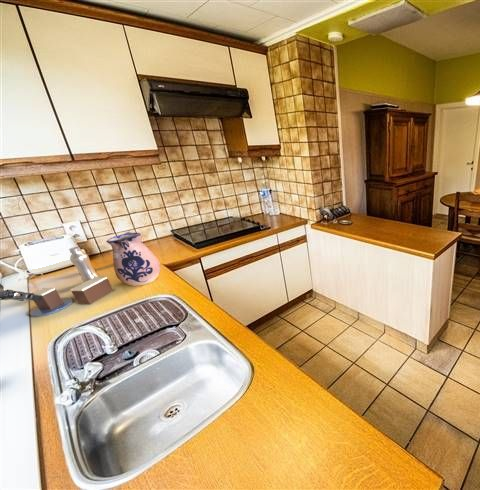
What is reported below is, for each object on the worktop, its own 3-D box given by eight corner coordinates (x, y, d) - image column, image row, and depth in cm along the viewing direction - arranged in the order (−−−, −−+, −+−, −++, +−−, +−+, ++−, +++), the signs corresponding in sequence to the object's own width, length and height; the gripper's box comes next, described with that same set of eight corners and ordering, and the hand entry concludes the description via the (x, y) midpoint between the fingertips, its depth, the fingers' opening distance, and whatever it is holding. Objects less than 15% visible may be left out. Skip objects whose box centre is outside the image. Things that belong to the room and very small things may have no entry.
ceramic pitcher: (122, 295, 126) (98, 247, 116) (122, 279, 141) (101, 235, 131) (166, 281, 136) (148, 236, 126) (162, 267, 151) (145, 226, 141)
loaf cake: (90, 304, 120) (81, 289, 117) (78, 304, 121) (69, 289, 117) (113, 290, 130) (106, 276, 127) (102, 290, 131) (95, 276, 127)
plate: (26, 321, 111) (25, 319, 110) (35, 307, 120) (33, 305, 120) (70, 308, 118) (69, 306, 118) (75, 296, 127) (74, 294, 127)
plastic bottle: (93, 285, 136) (74, 250, 128) (80, 286, 136) (60, 251, 128) (105, 279, 142) (87, 245, 134) (92, 279, 142) (74, 245, 134)
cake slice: (51, 309, 116) (41, 294, 113) (39, 309, 117) (29, 294, 113) (64, 302, 121) (54, 287, 117) (52, 302, 121) (43, 287, 118)
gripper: (-1, 281, 98) (51, 289, 113) (-34, 281, 100) (22, 289, 115) (-12, 301, 96) (43, 307, 111) (-46, 301, 97) (14, 307, 112)
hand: (32, 298), depth 113 cm, fingers open, 8 cm apart
